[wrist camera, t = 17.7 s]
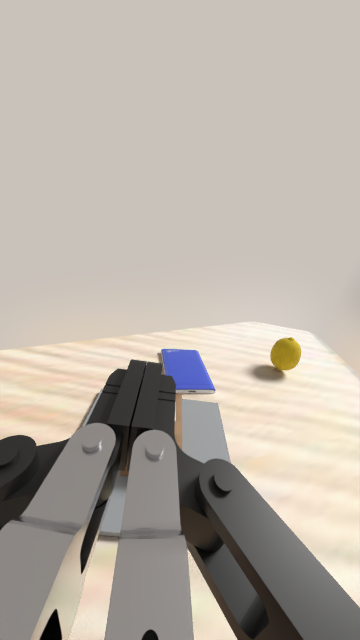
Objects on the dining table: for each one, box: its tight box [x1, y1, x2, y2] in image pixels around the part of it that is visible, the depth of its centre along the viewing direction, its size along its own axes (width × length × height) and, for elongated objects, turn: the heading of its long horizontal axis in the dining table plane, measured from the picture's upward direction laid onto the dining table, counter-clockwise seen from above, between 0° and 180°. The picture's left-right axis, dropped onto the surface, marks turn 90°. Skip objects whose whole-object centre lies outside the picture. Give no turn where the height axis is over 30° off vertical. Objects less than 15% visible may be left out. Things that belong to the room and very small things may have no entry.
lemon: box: [270, 337, 301, 371], centre depth 44 cm, size 6×6×8 cm
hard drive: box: [161, 349, 215, 393], centre depth 40 cm, size 2×8×12 cm
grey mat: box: [82, 389, 231, 537], centre depth 25 cm, size 18×16×1 cm
